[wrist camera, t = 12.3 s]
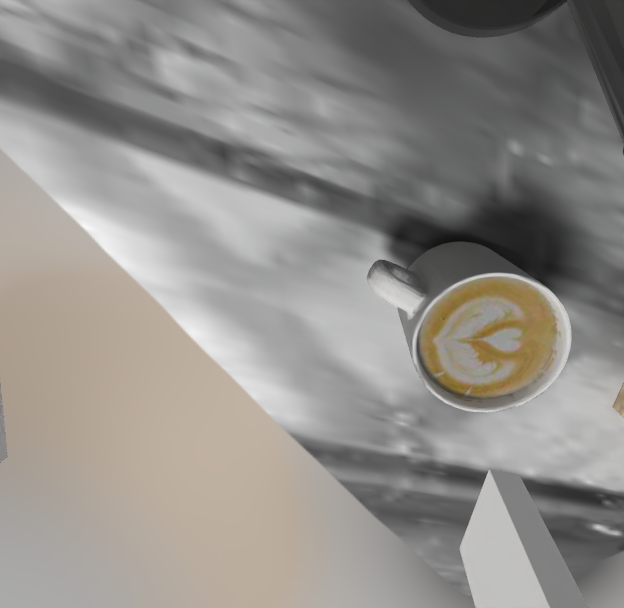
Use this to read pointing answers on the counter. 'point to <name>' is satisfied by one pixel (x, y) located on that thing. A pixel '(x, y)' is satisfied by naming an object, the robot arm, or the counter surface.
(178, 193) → the counter surface
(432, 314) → the coffee mug
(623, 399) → the divided wooden tray
